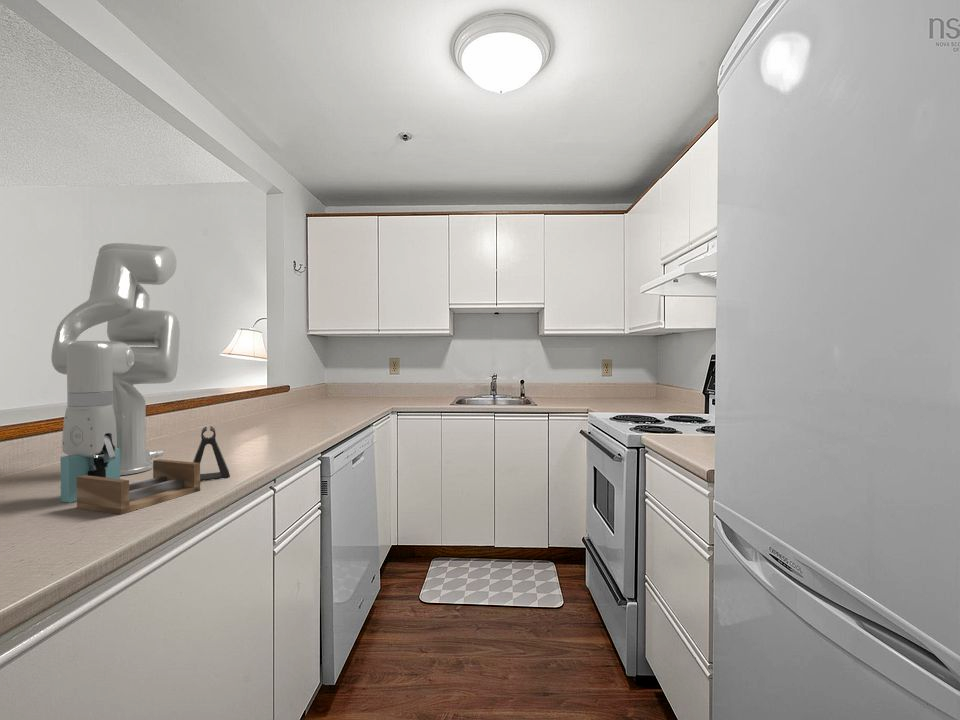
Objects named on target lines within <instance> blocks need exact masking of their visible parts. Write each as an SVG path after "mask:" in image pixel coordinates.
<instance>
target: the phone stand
mask: <svg viewBox="0 0 960 720" xmlns="http://www.w3.org/2000/svg"><path fill="white" fill-rule="evenodd" d="M209 429H210V430H209V431H210V432H212V433H213V434H212V435H211V436H209V437H208V436H207V437H206V436H205V434H204V433H205V432H207V430H208V428H207V426H204V427H203V428H202V430H201V435H200V436H201V441H200V443H199V445H198V448H197V450H196V452H195V455H194V458H193V461H192V462H195V463H200V464H201V462H202V458H203V455H204V452H205V448H206V446H208V445H211V448H212V450H213V454H214V457H215V460H216V464H217V466H218V470H219V471H218V472H209V473H200V482H203V481H202V480H205V481H211V480H210V479H215V480H220V479H219V478H224V479H229V478H231V475H230V470H229V467H228V465H227V463H226V460H225V458H224V456H223V453H222V451H221V448H220V447H219V444H218V442H217V439H216V436H217V435H216V434H217V433H216V429H215V428H214V426H210V427H209ZM228 477H229V478H228Z"/></svg>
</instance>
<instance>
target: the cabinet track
mask: <svg viewBox="0 0 960 720" xmlns="http://www.w3.org/2000/svg"><path fill="white" fill-rule="evenodd" d="M152 463H153V468H152V472H153V473H152V478H150V479H146V480H141V481H137V482H133V483H130V480H129V479H123V478H122V479H121V478H120V479H114V478H105V477H97V476H88V475H84V476H79V477H77V501H76V509H80V508H83V509H82V510H87V509H90V510H89V511H94V510H95V512H101V511H102V513H108V512H109V514H115V513H116V515H124V514H127V513H130V511H131V512H133V511H137V510H141V509H144V508H146V506H147V507H150V505H151V506H154V505H156V504H159V503H160V504H161V503H163V502H167V501H170V500H172V499H173V498H174V499H176V498H180V497H182V496H187V495H190V494H193V493H197V492H200V491H201V481H200V474H201V462H200V463H195V462H193V461H182V460H171V459H170V460H169V459H160V458H159V459H154V460H153V461H152ZM153 504H154V505H153ZM143 507H144V508H143ZM140 508H141V509H140ZM136 509H137V510H136Z"/></svg>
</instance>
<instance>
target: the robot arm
mask: <svg viewBox="0 0 960 720" xmlns="http://www.w3.org/2000/svg"><path fill="white" fill-rule="evenodd" d="M176 257H177V256H176V254H175V252H174V251H173V250H172V249H171V248H170V247H168V246H164V245H163V246H161V245H150V244H139V243H138V244H136V243H126V242H116V243H115V242H113V243H107V244H103V245H101V247H100V248H99V249H98V254H97V257H96V262H95V267H94V271H93V275H92V276H93V277H92V281H91V287H90V291H89V297H88V299H87V300H86V301H84V302H82V303H81V304H80V305H78V306H77V307H75V308H74V309H72V310H71V311H70V312H69V313H67V315H66V316H65V317H63V318H62V320H60V322H59V324H58V326H57V328H56V331H55V335H54V340H53V343H52V348H51V364H52V367H53V369H54V370H55V371H56V372H58V373H60V374H62V375H66V394H67V396H66V397H67V400H66V401H67V402H66V404H67V406H66V409H65V412H64V418H63V423H62V424H63V426H62V437H61V438H62V439H61V440H62V443H61V444H62V446H61V449H62V453H64V454H65V455H66V456H69V455H80V456H83V457H90V470H91V471H88V476H97V477H105V478H106V468H107V467H108V463H109V462H110V461H111V460H113V459H115V457H116V456H115V453H114V452H115V450H116V448H120V476H125V475H134V474H137V473H138V474H139V473H143V472H146V471H149V470H152V469H153V461H152V459H154V458H155V459H156V458H160V457H163V456H164V451H163V449H157V450H152V451H151V450H150V449H147V442H146V441H147V438H146V437H147V434H146V433H147V432H146V431H147V429H146V428H147V427H146V425H147V423H146V422H147V421H146V420H147V419H146V418H147V416H146V415H147V413H146V405H147V404H146V401H145V397H144V396H143V394H142V393H141V392H140V391H139V390H138V389H137V388H136V387H135V386H134V385H142V384H143V385H145V384H146V385H147V384H149V385H150V384H152V385H153V384H157V385H158V384H167V383H171V382H173V381H174V380H175V378H176V376H177V373H178V367H179V365H178V364H179V348H180V330H181V329H180V322H179V320H178V317H177V316H176V315H175V313H174V312H171V311H168V310H159V309H158V310H156V309H150V300H151V299H150V295H149V293H148V292H147V290H146V289H145V288H144V287H143V286H142V285H152V286H155V285H156V286H157V285H158V286H159V285H165V284H166V283H167V282H168V281H169V280H170V279H171V278H172V277H173V276H174V274H175V272H176V269H177V258H176ZM103 323H107V325H106V334H107V337H108V340H78V338H79V337H80V336H81V335H82V333H84V332H85V331H87V330H88V329H90V328H92V327H95V326H97V325H100V324H103ZM100 452H101V454H100ZM96 454H97V455H96ZM100 457H101V458H100ZM96 458H99V459H98V460H97V462H96Z"/></svg>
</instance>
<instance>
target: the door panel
mask: <svg viewBox="0 0 960 720" xmlns="http://www.w3.org/2000/svg"><path fill="white" fill-rule="evenodd" d="M114 453H115V456H116V457H115V459H113V460H111V461H110V462H109V463H108V467H107V468H106V478H114V479H121V475H120V448H116V450H115V452H114ZM100 454H101V452H100ZM96 455H97V454H96ZM100 458H101V457H100ZM98 459H99V458H96V462H97V460H98ZM88 471H91V470H90V457H83V456H80V455H65V456H60V502H62V503H67V502H68V503H69V504H70V503H73V501H74V502H77V477H79V476H84V475H88ZM68 503H67V504H68Z"/></svg>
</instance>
